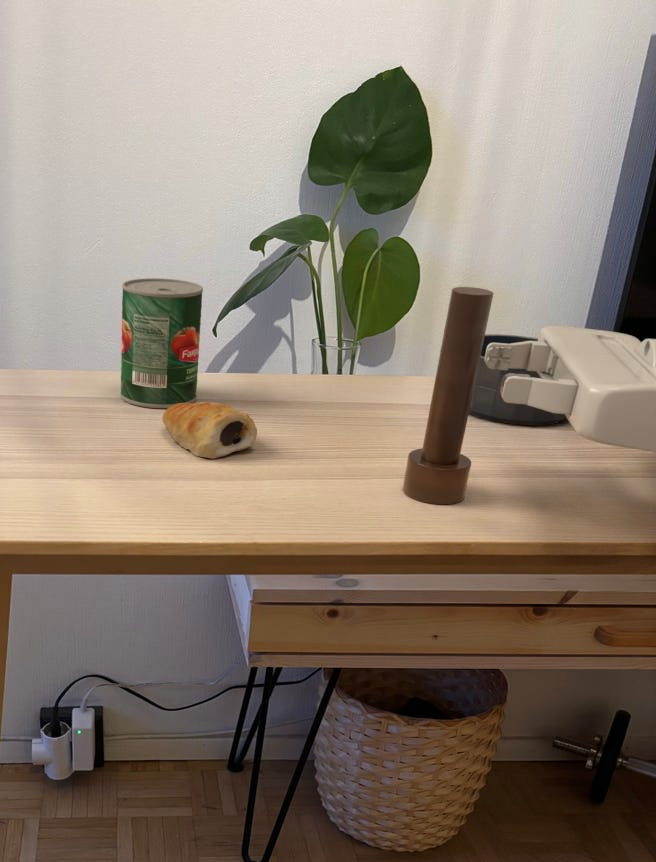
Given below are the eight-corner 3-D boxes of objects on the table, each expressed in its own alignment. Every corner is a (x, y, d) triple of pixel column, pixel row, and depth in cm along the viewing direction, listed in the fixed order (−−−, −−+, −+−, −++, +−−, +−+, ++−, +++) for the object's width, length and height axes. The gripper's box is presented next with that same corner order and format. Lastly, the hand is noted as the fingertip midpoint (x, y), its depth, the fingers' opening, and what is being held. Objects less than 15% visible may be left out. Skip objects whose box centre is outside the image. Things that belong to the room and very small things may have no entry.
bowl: (601, 417, 99) (617, 359, 96) (512, 434, 93) (526, 372, 90) (504, 384, 109) (516, 330, 106) (418, 396, 103) (428, 340, 100)
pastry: (143, 431, 89) (145, 391, 87) (200, 421, 92) (203, 382, 90) (205, 462, 82) (209, 419, 81) (264, 450, 86) (268, 408, 84)
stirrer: (477, 498, 78) (522, 295, 70) (432, 508, 76) (473, 299, 68) (434, 478, 82) (472, 282, 74) (390, 487, 80) (424, 286, 71)
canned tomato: (115, 386, 101) (117, 277, 95) (188, 386, 102) (194, 278, 97) (125, 409, 94) (127, 293, 89) (203, 408, 96) (210, 294, 90)
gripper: (657, 313, 79) (485, 300, 80) (746, 379, 61) (524, 361, 63) (635, 390, 82) (470, 376, 83) (713, 473, 64) (503, 453, 66)
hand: (493, 370), depth 73 cm, fingers open, 8 cm apart
